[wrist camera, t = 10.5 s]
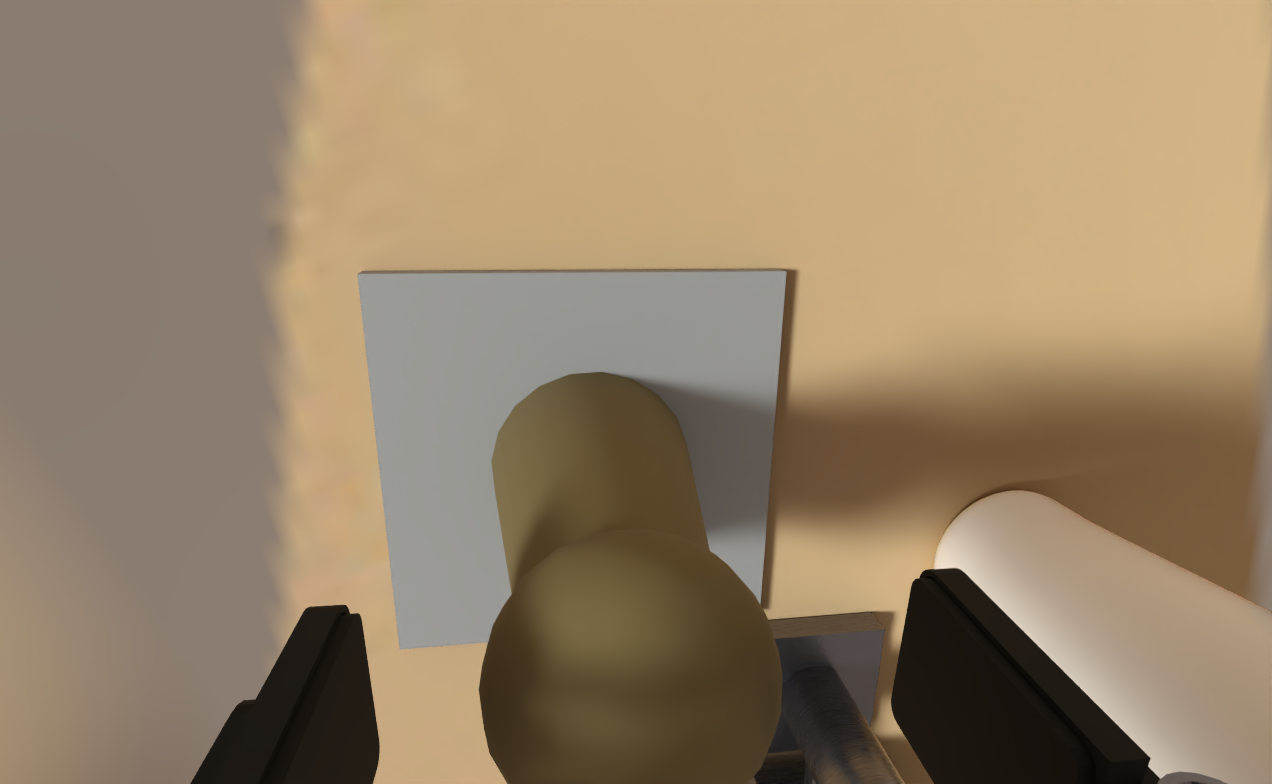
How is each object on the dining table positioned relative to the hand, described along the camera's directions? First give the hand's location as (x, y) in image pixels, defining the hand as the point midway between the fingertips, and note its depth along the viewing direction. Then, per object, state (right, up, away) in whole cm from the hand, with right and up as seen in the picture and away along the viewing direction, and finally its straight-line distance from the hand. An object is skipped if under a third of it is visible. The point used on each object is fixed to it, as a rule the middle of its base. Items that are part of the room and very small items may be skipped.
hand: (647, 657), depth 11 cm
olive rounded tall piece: (-2, +2, +9) cm, 10 cm away
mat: (-2, +2, +10) cm, 10 cm away
